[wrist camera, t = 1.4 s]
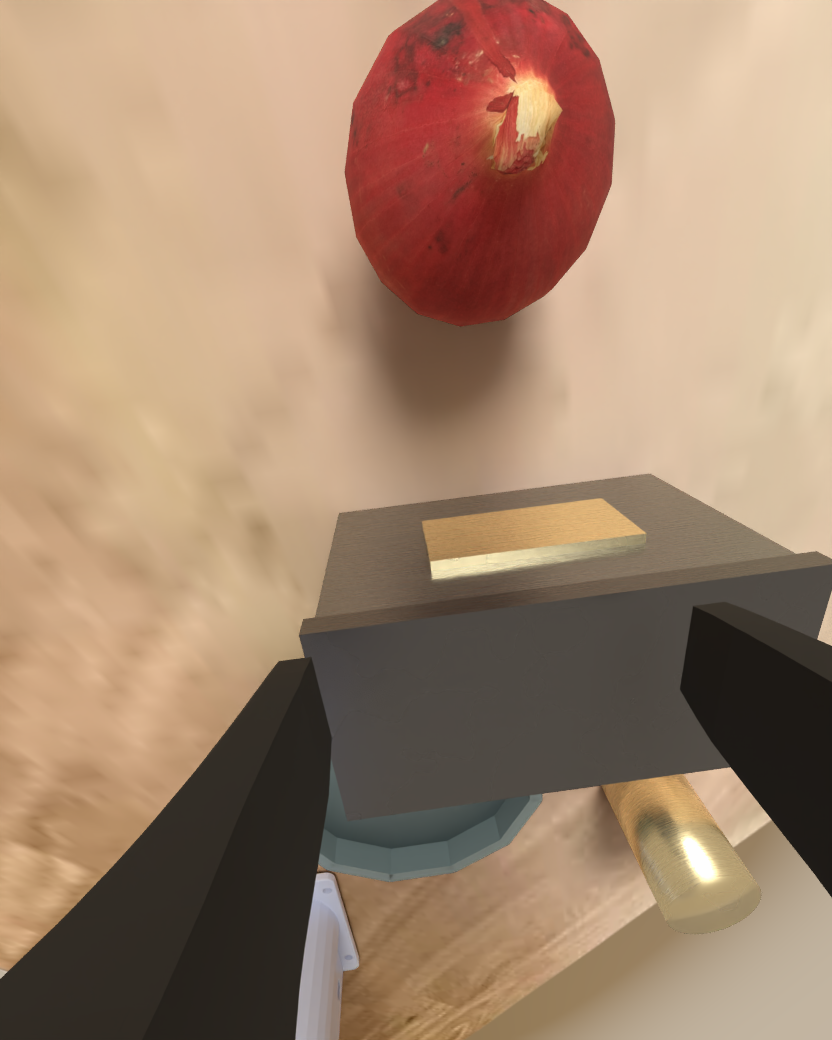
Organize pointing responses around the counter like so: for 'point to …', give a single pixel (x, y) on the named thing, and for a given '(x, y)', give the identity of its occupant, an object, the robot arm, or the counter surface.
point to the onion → (479, 157)
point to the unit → (531, 639)
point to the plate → (419, 837)
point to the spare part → (683, 854)
